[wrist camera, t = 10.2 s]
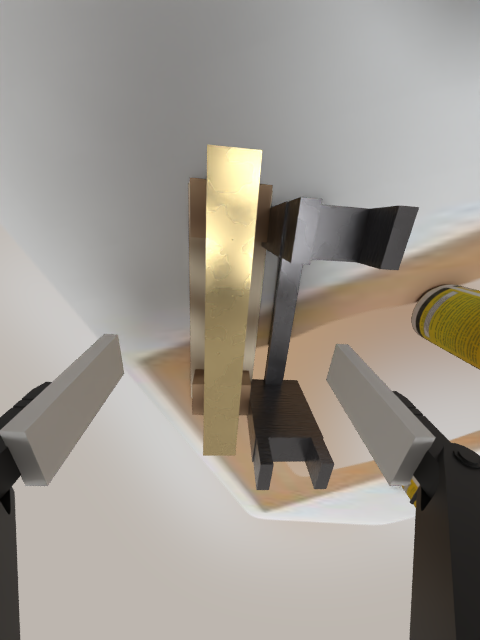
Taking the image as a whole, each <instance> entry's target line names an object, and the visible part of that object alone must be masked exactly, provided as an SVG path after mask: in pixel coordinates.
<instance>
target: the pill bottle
mask: <svg viewBox="0 0 480 640" xmlns="http://www.w3.org/2000/svg"><path fill="white" fill-rule="evenodd" d="M411 319H412V326H413V329H414V330H415V332H416V333H417V334H418V335H420V336H421V337H423V338H425V339H426V340H428V341H430V342H431V343H433V344H435V345H437V346H439V347H440V348H442V349H444V350H446V351H447V352H449V353H451V354H453V355H455V356H457V357H458V358H460V359H462V360H463V361H465V362H467V363H469V364H471V365H472V366H474V367H476V368H478V369H480V291H479V290H474V289H470V288H466V287H462V286H458V285H443V286H439V287H437V288H434V289H432V290H430V291H429V292H427V293H426V294H425V295H424V296H423V297H422V298H421V299H420V300H419V301H418V303H417V304H416V306H415V308H414V310H413V313H412V318H411Z"/></svg>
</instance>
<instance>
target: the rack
mask: <svg viewBox="0 0 480 640" xmlns="http://www.w3.org/2000/svg"><path fill="white" fill-rule="evenodd" d="M321 203H322V199H318V198H307V197H300V198H297V199H294V200H292V201H289V202H284V203H282V204H279V205H276V206H274V207H271V208H270V215H269V224H268V233H267V243H266V242H262V244H261V246H262V247H263V248H265V249H267V250H268V251H270V252H271V253H273V254H275V255H276V256H278V257H280V264H279V272H278V279H277V287H276V295H275V302H274V310H273V317H272V325H271V332H270V340H269V347H268V355H267V362H266V370H265V377H264V380H257V379H252V381H250V382H251V391H250V400H249V409H248V415H247V419H248V428H249V437H250V446H251V455H252V462H253V463H254V471H255V480H256V488H257V490H269V487H270V481H271V476H272V470H273V465H274V464H273V462H282V461H305V463H306V466H307V469H308V471H309V474H310V478H311V481H312V484H313V486H314V489H326V488H327V485H328V482H329V479H330V476H331V473H332V470H333V466H334V462H333V460H332V458H331V456H330V454H329V451H328V449H327V447H326V445H325V442H324V440H323V436H322V433H321V431H320V429H319V427H318V425H317V423H316V421H315V418H314V416H313V414H312V412H311V410H310V407H309V405H308V403H307V401H306V399H305V396H304V395H303V392H302V390H301V388H300V385H299V383H298V381H297V380H283V377H284V371H285V365H286V360H287V354H288V348H289V342H290V336H291V331H292V325H293V319H294V313H295V307H296V301H297V295H298V290H299V284H300V278H301V272H302V266H303V264H309V265H310V263H311V259H315V260H331V261H346V262H357V263H361V264H364V265H368V266H371V267H375V268H378V269H388V270H399V266H400V263H401V260H402V257H403V254H404V251H405V248H406V245H407V242H408V239H409V236H410V233H411V230H412V227H413V224H414V221H415V218H416V215H417V212H418V209H419V207H410V206H391V207H382V208H373V209H366V208H354V207H342V206H331V205H321Z"/></svg>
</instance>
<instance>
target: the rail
mask: <svg viewBox="0 0 480 640" xmlns="http://www.w3.org/2000/svg"><path fill="white" fill-rule="evenodd" d="M261 158H262V150H254V149H245V148H235V147H225V146H215V145H207V204H206V281H205V359H204V437H203V455H235V452H236V441H237V430H238V418H239V407H240V396H241V384H242V373H243V362H244V350H245V339H246V328H247V317H248V305H249V294H250V283H251V271H252V260H253V249H254V237H255V226H256V215H257V204H258V192H259V181H260V170H261Z"/></svg>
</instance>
